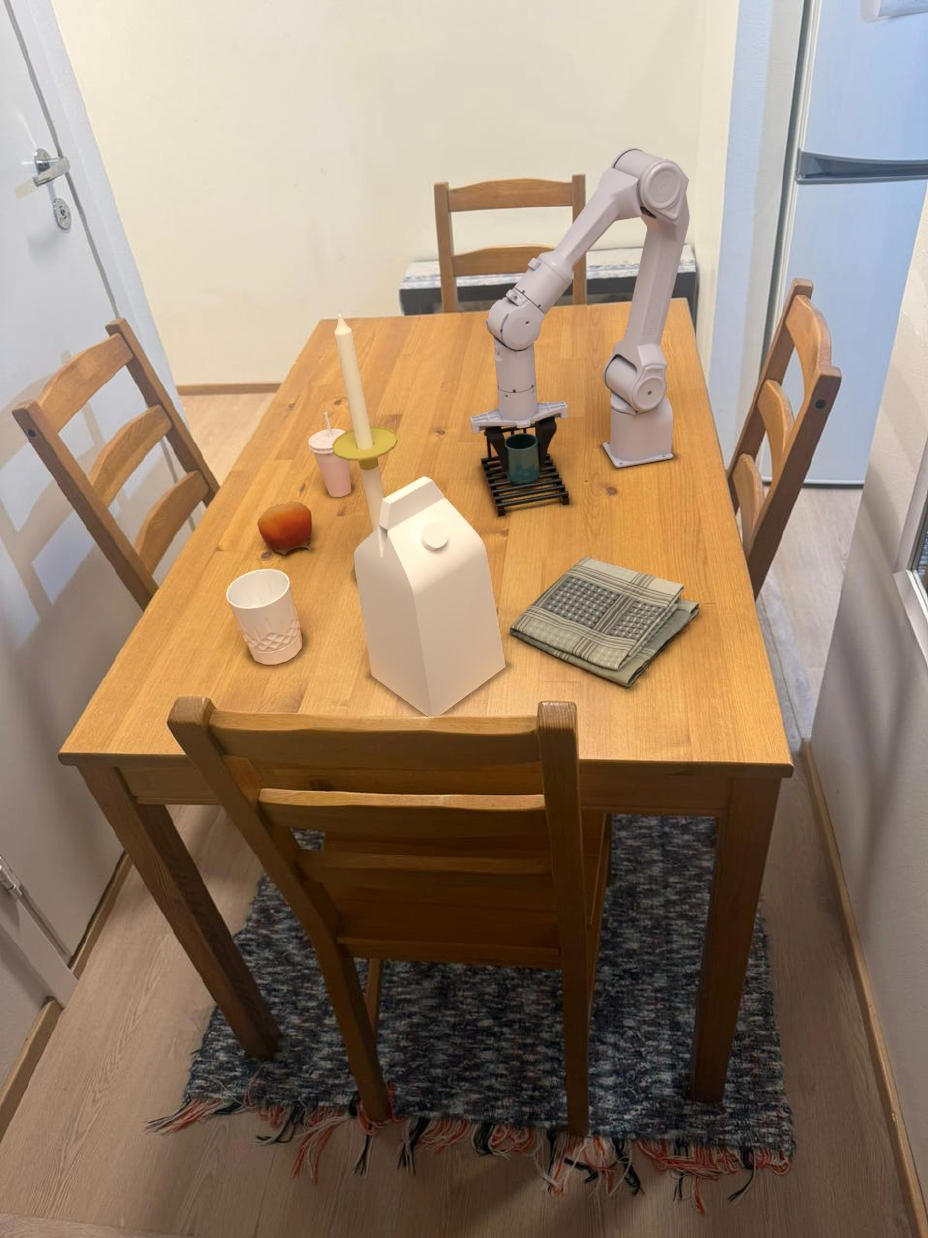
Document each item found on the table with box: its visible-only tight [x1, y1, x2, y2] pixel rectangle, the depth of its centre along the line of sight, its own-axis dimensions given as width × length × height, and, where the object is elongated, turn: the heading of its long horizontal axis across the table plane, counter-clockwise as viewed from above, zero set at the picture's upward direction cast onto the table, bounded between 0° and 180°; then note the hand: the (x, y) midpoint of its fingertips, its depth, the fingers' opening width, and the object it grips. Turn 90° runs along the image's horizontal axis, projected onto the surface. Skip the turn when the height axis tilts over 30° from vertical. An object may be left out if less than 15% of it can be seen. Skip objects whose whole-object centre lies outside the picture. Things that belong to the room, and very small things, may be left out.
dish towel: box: [509, 556, 700, 688], centre depth 110 cm, size 19×18×3 cm
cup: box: [505, 432, 541, 484], centre depth 136 cm, size 5×5×6 cm
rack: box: [480, 422, 570, 517], centre depth 137 cm, size 11×15×7 cm
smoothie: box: [307, 411, 352, 498], centre depth 139 cm, size 6×6×14 cm
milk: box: [353, 475, 507, 717], centre depth 100 cm, size 12×12×26 cm
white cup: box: [225, 568, 303, 666], centre depth 111 cm, size 8×8×10 cm
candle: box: [332, 309, 398, 581], centre depth 113 cm, size 10×10×38 cm
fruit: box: [256, 501, 313, 556], centre depth 131 cm, size 8×8×8 cm
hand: (522, 465), depth 137 cm, fingers closed on cup, 5 cm apart
